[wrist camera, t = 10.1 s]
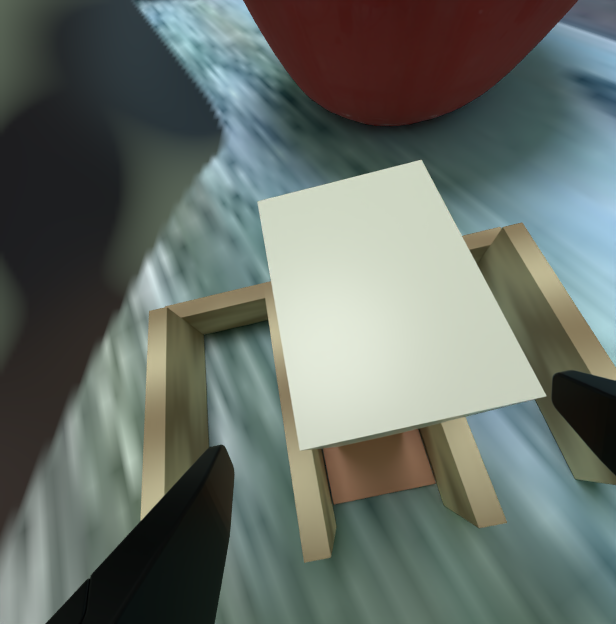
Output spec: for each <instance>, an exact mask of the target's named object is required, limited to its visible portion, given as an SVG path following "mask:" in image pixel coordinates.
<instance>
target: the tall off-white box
mask: <svg viewBox="0 0 616 624" xmlns="http://www.w3.org/2000/svg"><path fill="white" fill-rule="evenodd" d="M258 207H259V213H260V218H261V224H262V230H263V236H264V242H265V248H266V254H267V260H268V266H269V272H270V278H271V283H272V289H273V295H274V301H275V307H276V313H277V319H278V325H279V331H280V337H281V343H282V348H283V354H284V360H285V366H286V372H287V378H288V384H289V390H290V396H291V402H292V407H293V413H294V419H295V425H296V431H297V437H298V443H299V449H300V451H302V450H312V449H322V448H332V447H340V446H344V445H349V444H353V443H358V442H362V441H367V440H372V439H376V438H381V437H385V436H390V435H394V434H399V433H403V432H407V431H411V430H415V429H419V428H423V427H427V426H431V425H435V424H439V423H443V422H447V421H451V420H455V419H459V418H463V417H467V416H471V415H475V414H478V413H482V412H486V411H490V410H494V409H498V408H502V407H506V406H510V405H514V404H518V403H522V402H526V401H530V400H534V399H538V398H542V397H546V394H545V392H544V390H543V388H542V386H541V385H540V383H539V381H538V379H537V377H536V375H535V373H534V371H533V369H532V368H531V366H530V364H529V362H528V360H527V358H526V356H525V354H524V352H523V351H522V349H521V347H520V345H519V343H518V341H517V339H516V337H515V335H514V334H513V332H512V330H511V328H510V326H509V324H508V322H507V320H506V318H505V317H504V315H503V313H502V311H501V309H500V307H499V305H498V303H497V301H496V300H495V298H494V296H493V294H492V292H491V290H490V288H489V286H488V284H487V283H486V281H485V279H484V277H483V275H482V273H481V271H480V269H479V267H478V266H477V264H476V262H475V260H474V258H473V256H472V254H471V252H470V250H469V249H468V247H467V245H466V243H465V241H464V239H463V237H462V235H461V233H460V232H459V230H458V228H457V226H456V224H455V222H454V220H453V218H452V216H451V215H450V213H449V211H448V209H447V207H446V205H445V203H444V201H443V199H442V198H441V196H440V194H439V192H438V190H437V188H436V186H435V184H434V182H433V181H432V179H431V177H430V175H429V173H428V171H427V169H426V167H425V165H424V164H423V162H422V160H418V161H414V162H410V163H406V164H402V165H399V166H395V167H391V168H387V169H383V170H379V171H375V172H371V173H367V174H363V175H359V176H355V177H351V178H348V179H344V180H340V181H336V182H332V183H328V184H324V185H320V186H316V187H312V188H308V189H304V190H300V191H297V192H293V193H289V194H285V195H281V196H277V197H273V198H269V199H265V200H261V201H258Z"/></svg>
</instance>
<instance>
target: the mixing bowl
mask: <svg viewBox="0 0 616 624" xmlns="http://www.w3.org/2000/svg"><path fill="white" fill-rule="evenodd" d="M243 1H244V3H245V5H246V6H247V8H248V10H249V12H250V14H251V15H252V17H253V19H254V21H255V22H256V24H257V26H258V28H259V29H260V31H261V33H262V34H263V36H264V37H265V39H266V41H267V42H268V44H269V46H270V47H271V49H272V50H273V52H274V53H275V55H276V56H277V58H278V59H279V61H280V62H281V64H282V65H283V66H284V68H285V69H286V71H287V72H288V73H289V75H290V76H291V77H292V79H293V80H294V81H295V82H296V84H297V85H298V86H299V87H300V88H301V90H302V91H303V92H304V93H305V94H306V95H307V96H308V97H309V98H311V99H312V100H313V101H315V102H316V103H318V104H319V105H320V106H322V107H323V108H325V109H327V110H328V111H330V112H332V113H335V114H337V115H339V116H342V117H344V118H347V119H350V120H354V121H356V122H360V123H364V124H368V125H374V126H400V125H408V124H413V123H417V122H420V121H424V120H428V119H432V118H435V117H438V116H441V115H444V114H446V113H449V112H452V111H454V110H456V109H458V108H460V107H462V106H464V105H466V104H467V103H469V102H471V101H472V100H474V99H476V98H477V97H479V96H481V95H482V94H483V93H485V92H486V91H488V90H489V89H490V88H492V87H493V86H494V85H495V84H496V83H498V82H499V81H500V80H501V79H502V78H503V77H504V76H506V75H507V74H508V73H509V72H510V71H511V70H512V69H513V68H514V67H515V66H516V65H517V64H518V63H519V62H520V61H521V60H522V59H523V58H524V57H525V56H526V55H527V54H528V53H529V52H530V51H531V50H532V49H533V48H534V47H535V46H536V45H537V44H538V43H539V42H540V41H541V40H542V39H543V38H544V37H545V36H546V35H547V34H548V33H549V32H550V31H551V30H552V28H553V27H554V26H555V25H556V24H557V23H558V22H559V21H560V20H561V19H562V18H563V17H564V15H565V14H566V13H567V12H568V11H569V10H570V9H571V8H572V7H573V6H574V4H575V3H576V2H577V1H578V0H243Z"/></svg>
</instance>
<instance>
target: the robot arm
mask: <svg viewBox="0 0 616 624" xmlns="http://www.w3.org/2000/svg"><path fill="white" fill-rule="evenodd" d="M551 400H552V403H553V405H554V407H555V409H556V410H557V411H558V412H559V413H560V414H561V416H562V417H563V418H564V419H565V420H566V421H567V423H568V424H569V425H570V426H571V427H572V428H573V430H574V431H575V432H576V433H577V434H578V435H579V437H580V438H581V439H582V440H583V441H584V442H585V444H586V445H587V446H588V447H589V448H590V449H591V451H592V452H593V453H594V454H595V455H596V456H597V457H598V458H599V460H600V461H601V462H602V463H603V464H604V465H605V466H606V467H607V468H608V469H609V470H610V471H611V472H612V473H613V474H614V475H615V476H616V380H612V379H608V378H604V377H599V376H595V375H591V374H587V373H583V372H579V371H575V370H566V371H562V372H557V373H555V374H554V375H553V377H552V392H551ZM233 488H234V467H233V464H232V462H231V460H230V457H229V455H228V452H227V450H226V448H225V446H224V445H217V446H213V447H209V448H208V449H207V450H206V451H205V452H204V453H203V454H202V455H201V456H200V457H199V458H198V459H197V460H196V462H195V463H194V464H193V465H192V466H191V467H190V468H189V469H188V470H187V471H186V472H185V473H184V475H183V476H182V477H181V478H180V479H179V480H178V481H177V482H176V483H175V484H174V485H173V486H172V488H171V489H170V490H169V491H168V492H167V493H166V494H165V495H164V496H163V497H162V498H161V500H160V501H159V502H158V503H157V504H156V505H155V506H154V507H153V508H152V509H151V510H150V511H149V513H148V514H147V515H146V516H145V517H144V518H143V519H142V520H141V521H140V522H139V523H138V525H137V526H136V527H135V528H134V529H133V530H132V531H131V532H130V533H129V534H128V535H127V536H126V538H125V539H124V540H123V541H122V542H121V543H120V544H119V545H118V546H117V547H116V548H115V550H114V551H113V552H112V553H111V554H110V555H109V556H108V557H107V558H106V559H105V560H104V561H103V563H102V564H101V565H100V566H99V567H98V568H97V569H96V570H95V571H94V572H93V573H92V575H91V577H90V579H87V580H86V581H85V582H84V583H83V584H82V585H81V586H80V587H79V588H78V590H77V591H76V592H75V593H74V594H73V595H72V596H71V597H70V598H69V599H68V600H67V601H66V602H65V604H64V605H63V606H62V607H61V608H60V609H59V610H58V611H57V612H56V613H55V614H54V615H53V616H52V617H51V618H50V619H49V620H48V622H47V623H46V624H215V618H216V612H217V607H218V601H219V595H220V589H221V584H222V578H223V572H224V567H225V561H226V555H227V549H228V543H229V537H230V527H231V514H232V501H233Z"/></svg>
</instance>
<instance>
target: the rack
mask: <svg viewBox="0 0 616 624" xmlns="http://www.w3.org/2000/svg"><path fill="white" fill-rule="evenodd" d="M462 237H463V239H464V241H465V243H466V245H467V247H468V249H469V250H470V252H471V254H472V256H473V258H474V260H475V262H476V264H477V266H478V267H479V269H480V271H481V273H482V275H483V277H484V279H485V281H486V283H487V284H488V286H489V288H490V290H491V292H492V294H493V296H494V298H495V300H496V301H497V303H498V305H499V307H500V309H501V311H502V313H503V315H504V317H505V318H506V320H507V322H508V324H509V326H510V328H511V330H512V332H513V334H514V335H515V337H516V339H517V341H518V343H519V345H520V347H521V349H522V351H523V352H524V354H525V356H526V358H527V360H528V362H529V364H530V366H531V368H532V369H533V371H534V373H535V375H536V377H537V379H538V381H539V383H540V385H541V386H542V388H543V390H544V392H545V394H546V397H542V398H538V399H535V400H536V402H537V404H538V406H539V408H540V410H541V412H542V414H543V416H544V418H545V420H546V422H547V424H548V426H549V428H550V430H551V432H552V434H553V436H554V438H555V440H556V442H557V444H558V446H559V448H560V450H561V452H562V454H563V456H564V458H565V460H566V462H567V464H568V466H569V468H570V470H571V472H572V474H573V476H574V478H575V479H579V480H585V481H592V482H599V483H605V484H612V485H616V476H615V475H614V474H613V473H612V472H611V471H610V470H609V469H608V468H607V467H606V466H605V465H604V464H603V463H602V462H601V461H600V460H599V458H598V457H597V456H596V455H595V454H594V453H593V452H592V451H591V449H590V448H589V447H588V446H587V445H586V444H585V442H584V441H583V440H582V439H581V438H580V437H579V435H578V434H577V433H576V432H575V431H574V430H573V428H572V427H571V426H570V425H569V424H568V423H567V421H566V420H565V419H564V418H563V417H562V416H561V414H560V413H559V412H558V411H557V410H556V409H555V407H554V405H553V403H552V400H551V392H552V377H553V375H554V374H555V373H557V372H562V371H566V370H575V371H579V372H583V373H587V374H591V375H595V376H599V377H604V378H608V379H612V380H616V367H615V366H614V364H613V362H612V361H611V359H610V358H609V356H608V355H607V353H606V352H605V350H604V349H603V347H602V345H601V344H600V342H599V341H598V339H597V338H596V336H595V335H594V333H593V331H592V330H591V328H590V327H589V325H588V324H587V322H586V321H585V319H584V317H583V316H582V314H581V313H580V311H579V310H578V308H577V307H576V305H575V304H574V302H573V300H572V299H571V297H570V296H569V294H568V293H567V291H566V290H565V288H564V286H563V285H562V283H561V282H560V280H559V279H558V277H557V276H556V274H555V273H554V271H553V269H552V268H551V266H550V265H549V263H548V262H547V260H546V259H545V257H544V255H543V254H542V252H541V251H540V249H539V248H538V246H537V245H536V243H535V242H534V240H533V238H532V237H531V235H530V234H529V232H528V231H527V229H526V228H525V226H524V224H523V223H518V224H514V225H510V226H505V227H503V228H502V229H501V227H498V228H493V229H489V230H485V231H481V232H477V233H472V234H468V235H464V236H462ZM265 320H269V327H270V334H271V340H272V347H273V354H274V361H275V368H276V374H277V381H278V388H279V395H280V402H281V408H282V415H283V422H284V429H285V436H286V442H287V449H288V456H289V463H290V469H291V476H292V483H293V490H294V497H295V503H296V510H297V517H298V524H299V531H300V537H301V544H302V551H303V558H304V563H305V562H310V561H315V560H320V559H326V558H331V555H332V549H333V544H334V538H335V533H336V528H337V526H336V521H335V516H334V511H333V505H332V500H331V495H330V490H329V485H328V479H327V474H326V469H325V464H324V459H323V453H322V449H312V450H302V451H300V449H299V443H298V437H297V431H296V425H295V419H294V413H293V407H292V402H291V396H290V390H289V384H288V378H287V372H286V366H285V360H284V354H283V348H282V343H281V337H280V331H279V325H278V319H277V313H276V307H275V301H274V295H273V289H272V283H271V281H270V282H266V283H262V284H258V285H254V286H249V287H245V288H241V289H237V290H233V291H228V292H224V293H220V294H216V295H212V296H207V297H203V298H199V299H195V300H191V301H186V302H182V303H178V304H174V305H170V306H165V308H160V309H156V310H152V311H149V328H148V353H147V377H146V402H145V426H144V451H143V475H142V500H141V520H142V519H143V518H144V517H145V516H146V515H147V514H148V513H149V511H150V510H151V509H152V508H153V507H154V506H155V505H156V504H157V503H158V502H159V501H160V500H161V498H162V497H163V496H164V495H165V494H166V493H167V492H168V491H169V490H170V489H171V488H172V486H173V485H174V484H175V483H176V482H177V481H178V480H179V479H180V478H181V477H182V476H183V475H184V473H185V472H186V471H187V470H188V469H189V468H190V467H191V466H192V465H193V464H194V463H195V462H196V460H197V459H198V458H199V457H200V456H201V455H202V454H203V453H204V452H205V451H206V450H207V449H208V448H209V438H208V416H207V393H206V371H205V349H204V335H205V334H209V333H214V332H218V331H222V330H227V329H231V328H235V327H240V326H244V325H248V324H252V323H257V322H261V321H265ZM419 431H420V433H419ZM420 434H421V436H420ZM421 437H422V439H421ZM422 440H423V442H422ZM423 443H424V446H425V449H426V452H427V455H428V458H429V461H428V458H427V455H426V452H425V449H424V446H423ZM323 451H324V457H325V462H326V467H327V472H328V477H329V482H330V488H331V493H332V498H333V503H334V504H338V503H343V502H348V501H353V500H358V499H363V498H368V497H373V496H378V495H382V494H387V493H392V492H397V491H402V490H407V489H412V488H417V487H422V486H427V485H431V484H436V483H437V486H438V489H439V492H440V495H441V498H442V501H443V504H444V506H446V507H447V508H449V509H450V510H452V511H453V512H455V513H456V514H458V515H459V516H461V517H462V518H464V519H466V520H467V521H469V522H470V523H472V524H473V525H475V526H476V527H478V528H483V527H488V526H493V525H498V524H503V523H507V521H506V518H505V516H504V513H503V511H502V508H501V506H500V503H499V501H498V498H497V496H496V493H495V491H494V488H493V486H492V483H491V481H490V478H489V476H488V473H487V470H486V468H485V465H484V463H483V460H482V458H481V455H480V453H479V450H478V448H477V445H476V443H475V440H474V438H473V435H472V433H471V430H470V428H469V425H468V423H467V420H466V417H463V418H459V419H455V420H451V421H447V422H443V423H439V424H435V425H431V426H427V427H423V428H419V430H418V429H415V430H411V431H407V432H403V433H399V434H394V435H390V436H385V437H381V438H376V439H372V440H367V441H362V442H358V443H353V444H349V445H344V446H340V447H332V448H323ZM429 462H430V464H429ZM430 465H431V467H430ZM431 468H432V470H431ZM432 471H433V473H432ZM433 474H434V476H433ZM434 477H435V479H434ZM435 480H436V482H435Z"/></svg>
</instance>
